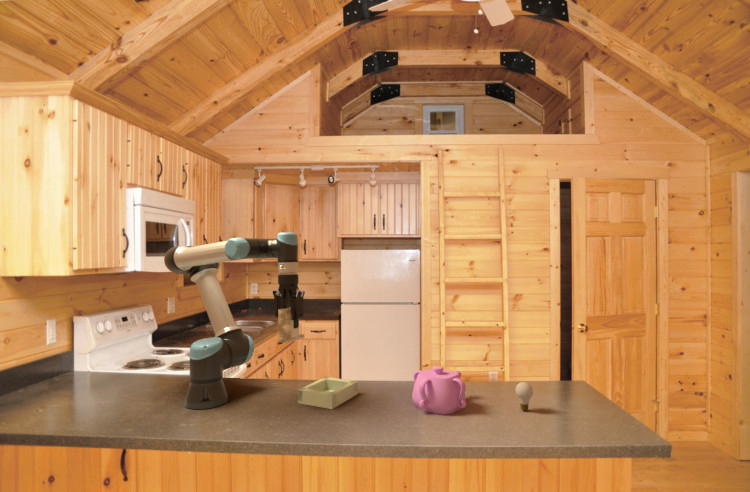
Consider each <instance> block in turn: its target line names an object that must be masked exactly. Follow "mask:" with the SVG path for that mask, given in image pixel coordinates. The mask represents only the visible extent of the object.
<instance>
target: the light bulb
mask: <svg viewBox="0 0 750 492" xmlns="http://www.w3.org/2000/svg"><path fill="white" fill-rule="evenodd" d="M515 394H516V396H517V397H518V399H519V404H520V410H522V411H523V412H526V411H528V410H529V404H530V400H531V398H532V397H533V395H534V388H533V386H532V385H531V384H530V383H528V382H525V381H521V382H519V383H517V385H516V386H515Z"/></svg>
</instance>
